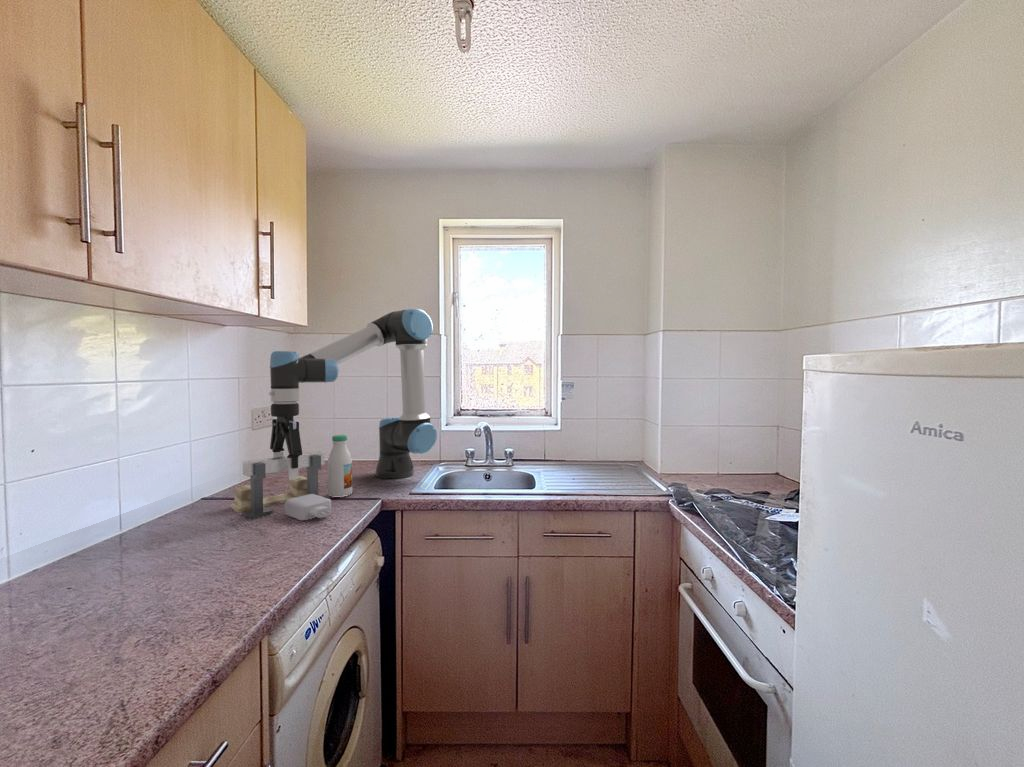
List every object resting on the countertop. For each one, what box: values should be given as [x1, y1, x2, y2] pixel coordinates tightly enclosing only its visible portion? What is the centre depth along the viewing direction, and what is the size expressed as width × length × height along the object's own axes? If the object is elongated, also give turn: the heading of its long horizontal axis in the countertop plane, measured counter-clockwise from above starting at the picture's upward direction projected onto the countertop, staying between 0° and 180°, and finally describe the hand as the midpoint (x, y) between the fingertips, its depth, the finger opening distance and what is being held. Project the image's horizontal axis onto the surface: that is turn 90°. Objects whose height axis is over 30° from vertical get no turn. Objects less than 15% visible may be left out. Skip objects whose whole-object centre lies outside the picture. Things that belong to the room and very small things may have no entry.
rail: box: [242, 451, 325, 477], centre depth 133 cm, size 22×4×4 cm, turn 138°
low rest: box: [229, 475, 307, 513], centre depth 140 cm, size 22×7×6 cm, turn 138°
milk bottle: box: [327, 434, 353, 496], centre depth 147 cm, size 8×8×20 cm
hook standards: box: [241, 455, 322, 520], centre depth 133 cm, size 22×7×15 cm, turn 138°
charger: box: [284, 494, 334, 522], centre depth 126 cm, size 5×9×15 cm
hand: (285, 476), depth 133 cm, fingers open, 10 cm apart
